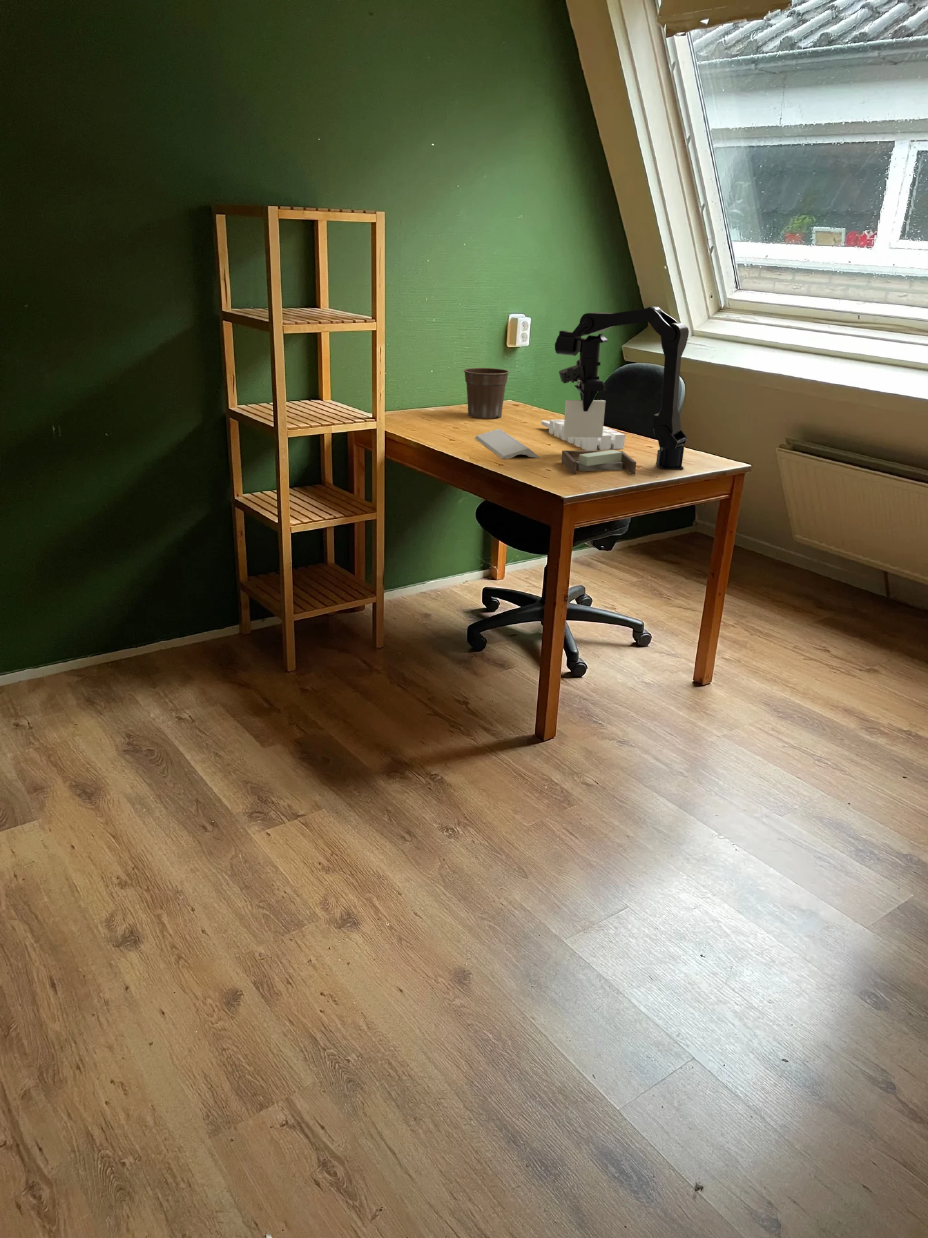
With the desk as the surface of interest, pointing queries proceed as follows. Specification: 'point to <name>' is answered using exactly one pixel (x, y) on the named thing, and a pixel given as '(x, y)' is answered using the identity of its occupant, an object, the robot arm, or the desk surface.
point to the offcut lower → (600, 466)
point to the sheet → (584, 419)
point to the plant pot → (485, 391)
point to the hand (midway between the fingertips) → (584, 410)
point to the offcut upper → (600, 457)
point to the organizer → (587, 443)
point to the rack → (573, 456)
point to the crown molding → (504, 444)
